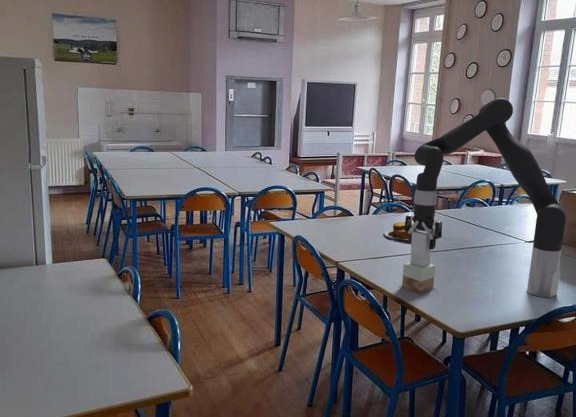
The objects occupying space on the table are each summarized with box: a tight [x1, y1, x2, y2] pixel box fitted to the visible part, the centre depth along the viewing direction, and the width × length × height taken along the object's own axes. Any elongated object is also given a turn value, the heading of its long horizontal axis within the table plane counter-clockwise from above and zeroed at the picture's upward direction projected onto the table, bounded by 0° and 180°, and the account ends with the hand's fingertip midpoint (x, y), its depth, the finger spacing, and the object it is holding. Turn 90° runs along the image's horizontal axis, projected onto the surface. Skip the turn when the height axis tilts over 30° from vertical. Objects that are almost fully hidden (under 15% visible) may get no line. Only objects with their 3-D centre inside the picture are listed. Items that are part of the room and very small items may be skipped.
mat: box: [398, 285, 437, 296], centre depth 196 cm, size 10×10×1 cm
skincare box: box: [409, 230, 432, 267], centre depth 193 cm, size 6×4×12 cm
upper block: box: [402, 261, 436, 281], centre depth 195 cm, size 8×8×4 cm
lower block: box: [401, 275, 435, 293], centre depth 196 cm, size 8×8×4 cm
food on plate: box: [383, 221, 431, 242], centre depth 269 cm, size 25×25×7 cm
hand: (421, 246), depth 193 cm, fingers open, 8 cm apart
